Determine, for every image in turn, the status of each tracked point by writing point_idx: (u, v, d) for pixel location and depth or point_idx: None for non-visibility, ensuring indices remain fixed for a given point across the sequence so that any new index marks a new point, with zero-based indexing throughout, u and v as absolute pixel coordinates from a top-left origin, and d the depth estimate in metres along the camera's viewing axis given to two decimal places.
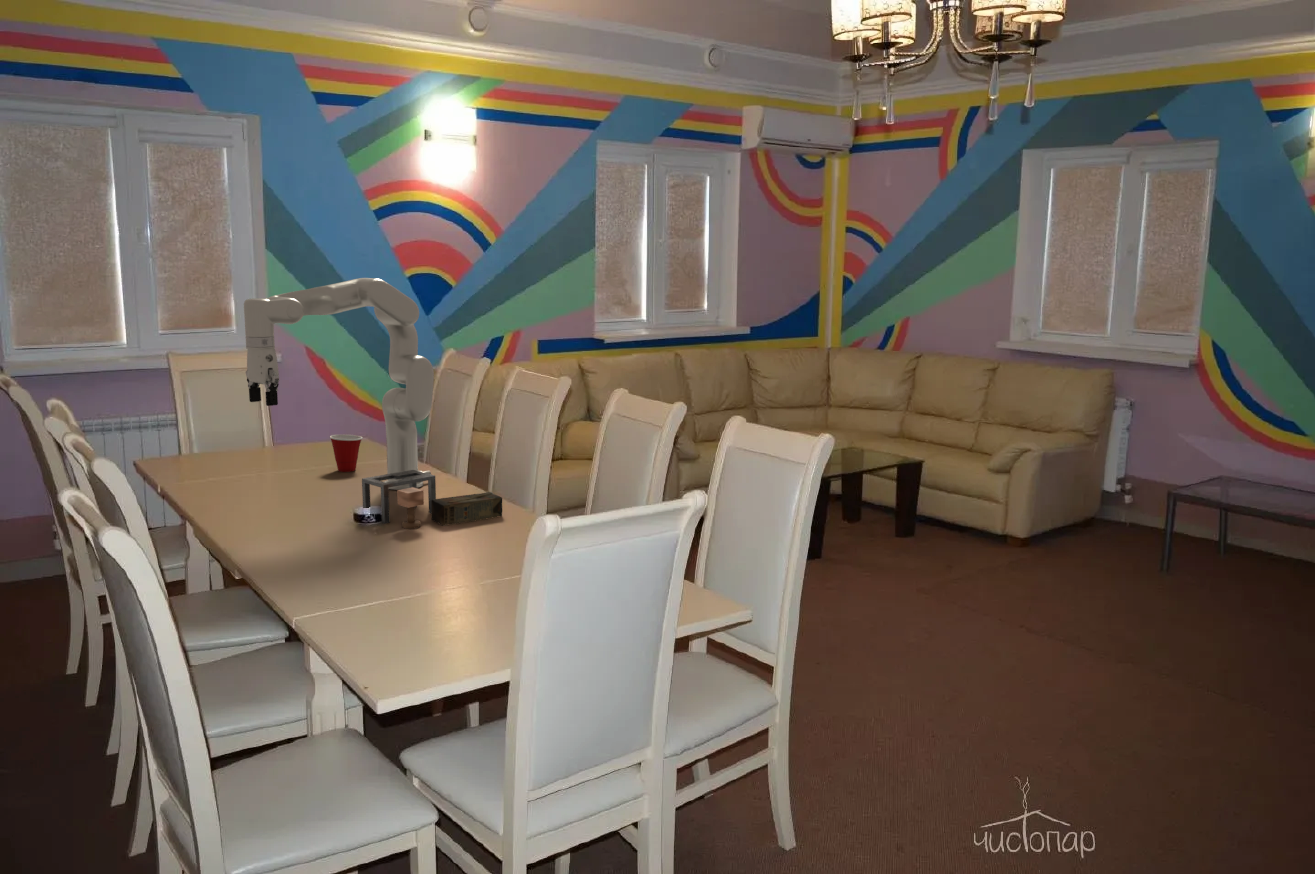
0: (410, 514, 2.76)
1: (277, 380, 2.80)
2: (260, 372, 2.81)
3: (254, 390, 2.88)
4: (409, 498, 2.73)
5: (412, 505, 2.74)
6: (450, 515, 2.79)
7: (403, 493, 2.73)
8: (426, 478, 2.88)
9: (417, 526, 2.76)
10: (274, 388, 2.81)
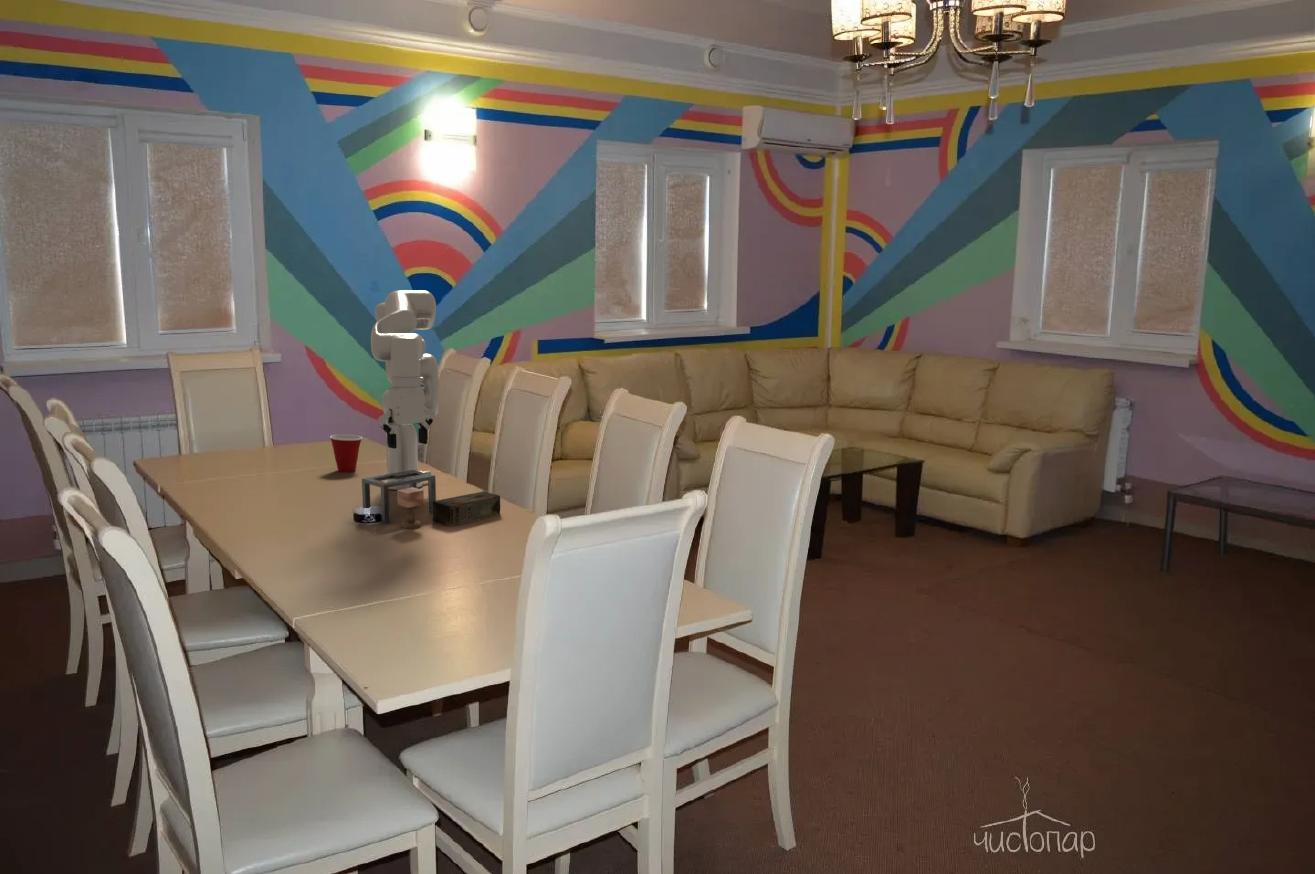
0: (410, 514, 2.76)
1: None
2: (422, 411, 2.73)
3: None
4: (409, 498, 2.73)
5: (412, 505, 2.74)
6: (455, 516, 2.78)
7: (403, 493, 2.73)
8: (426, 478, 2.88)
9: (417, 526, 2.76)
10: None
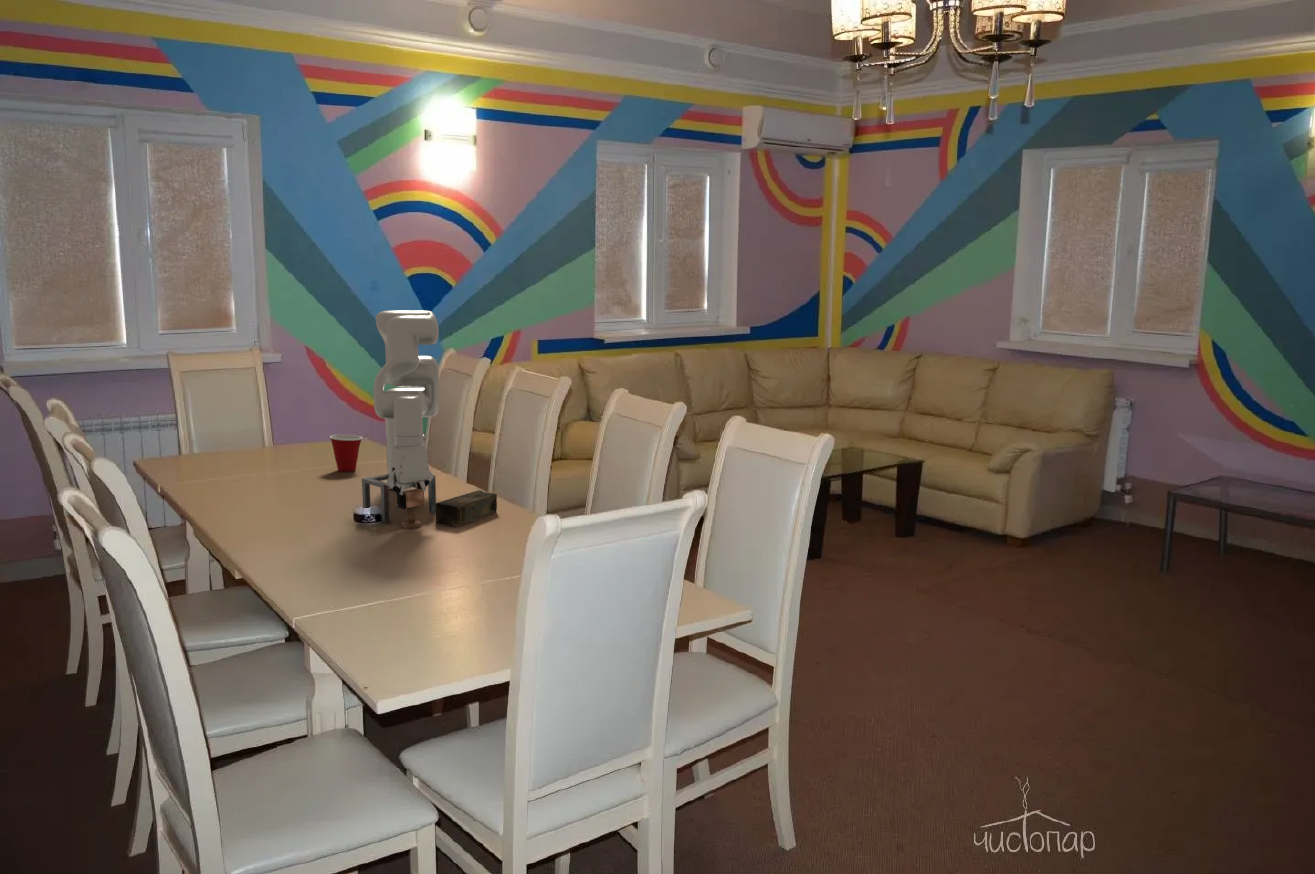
0: (410, 514, 2.76)
1: None
2: (425, 468, 2.75)
3: None
4: (409, 498, 2.72)
5: (412, 505, 2.73)
6: (462, 516, 2.78)
7: None
8: None
9: (417, 526, 2.76)
10: None
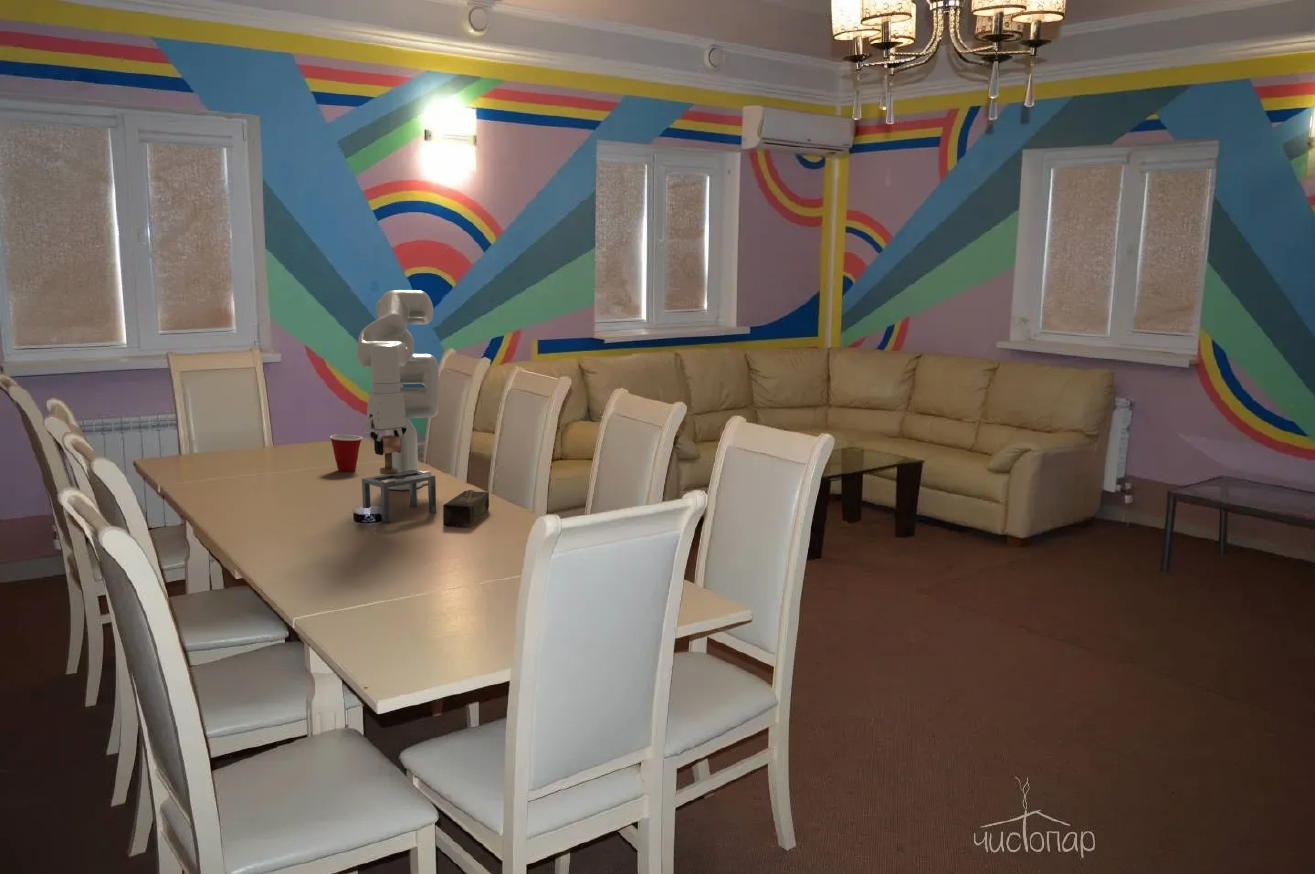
0: (388, 460, 2.83)
1: None
2: (402, 416, 2.83)
3: None
4: (386, 444, 2.80)
5: (389, 451, 2.81)
6: (472, 515, 2.79)
7: None
8: (426, 478, 2.88)
9: (394, 472, 2.83)
10: None
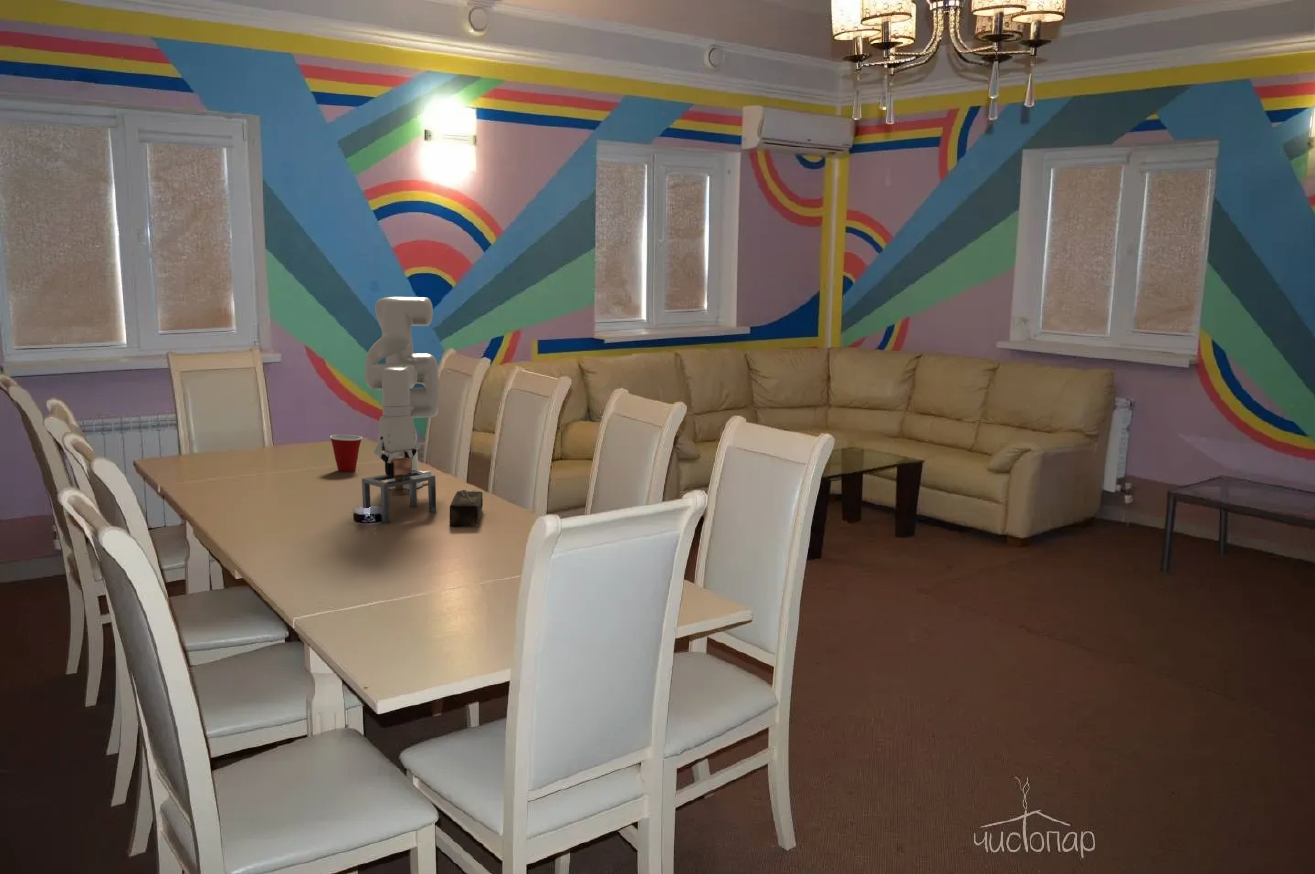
0: None
1: None
2: (412, 438, 2.87)
3: None
4: (397, 466, 2.84)
5: (400, 473, 2.85)
6: (478, 515, 2.80)
7: None
8: (426, 478, 2.88)
9: (405, 493, 2.87)
10: None
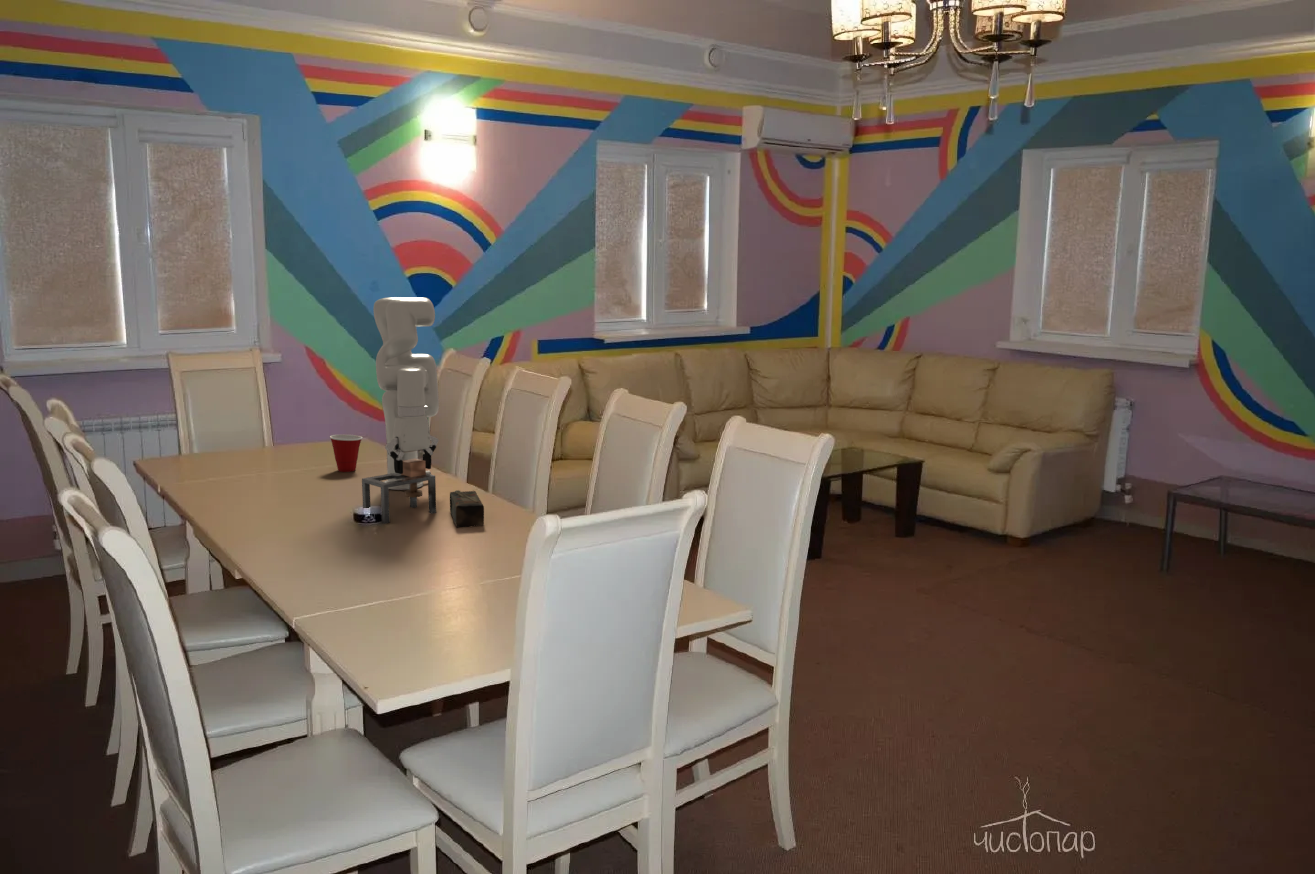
0: (413, 483, 2.90)
1: None
2: (427, 438, 2.90)
3: None
4: (412, 468, 2.87)
5: (415, 475, 2.88)
6: None
7: (406, 463, 2.88)
8: (426, 478, 2.88)
9: (419, 495, 2.91)
10: None
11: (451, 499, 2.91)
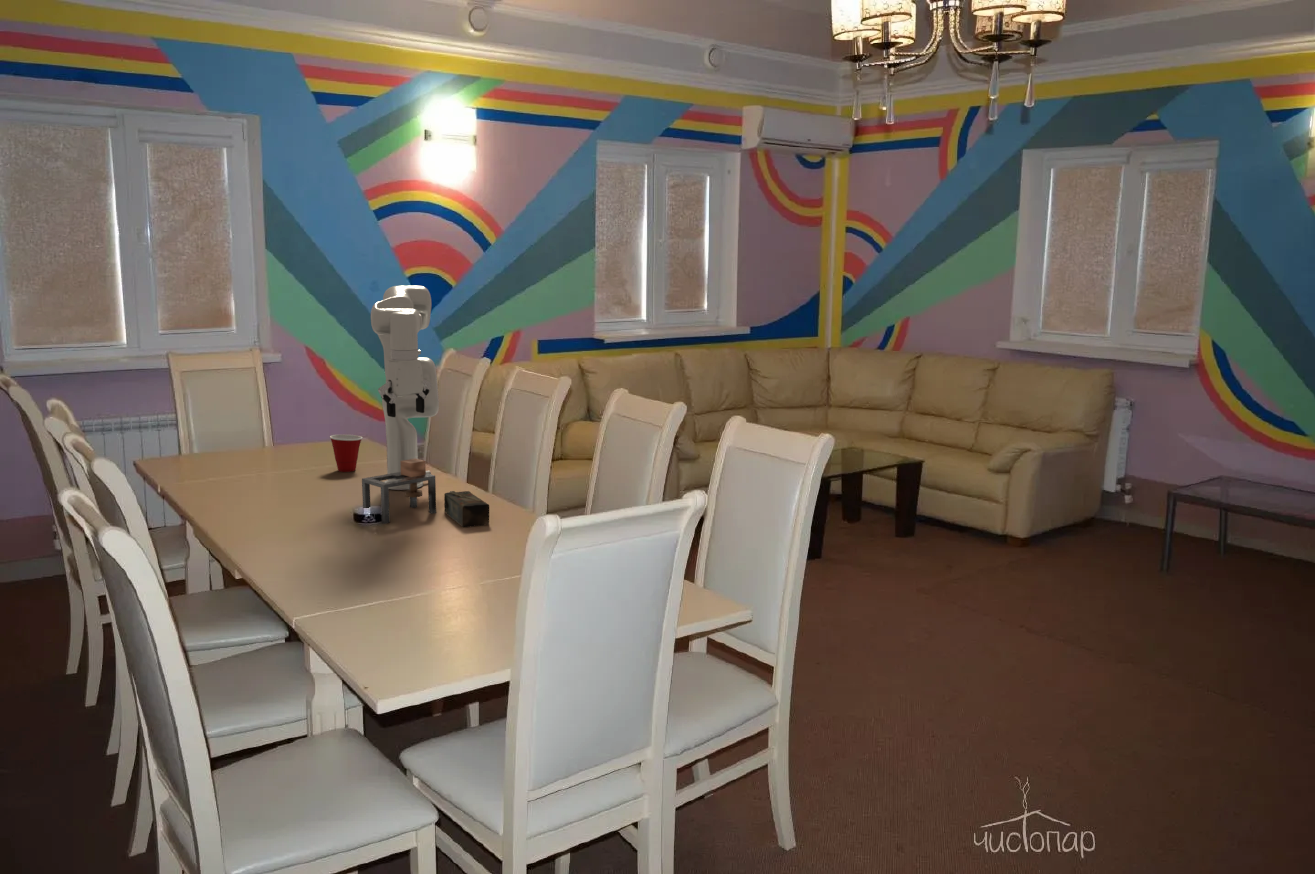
0: (413, 483, 2.90)
1: None
2: (420, 382, 2.91)
3: None
4: (412, 468, 2.87)
5: (415, 475, 2.88)
6: None
7: (406, 463, 2.88)
8: (426, 478, 2.88)
9: (419, 495, 2.91)
10: None
11: (447, 500, 2.90)
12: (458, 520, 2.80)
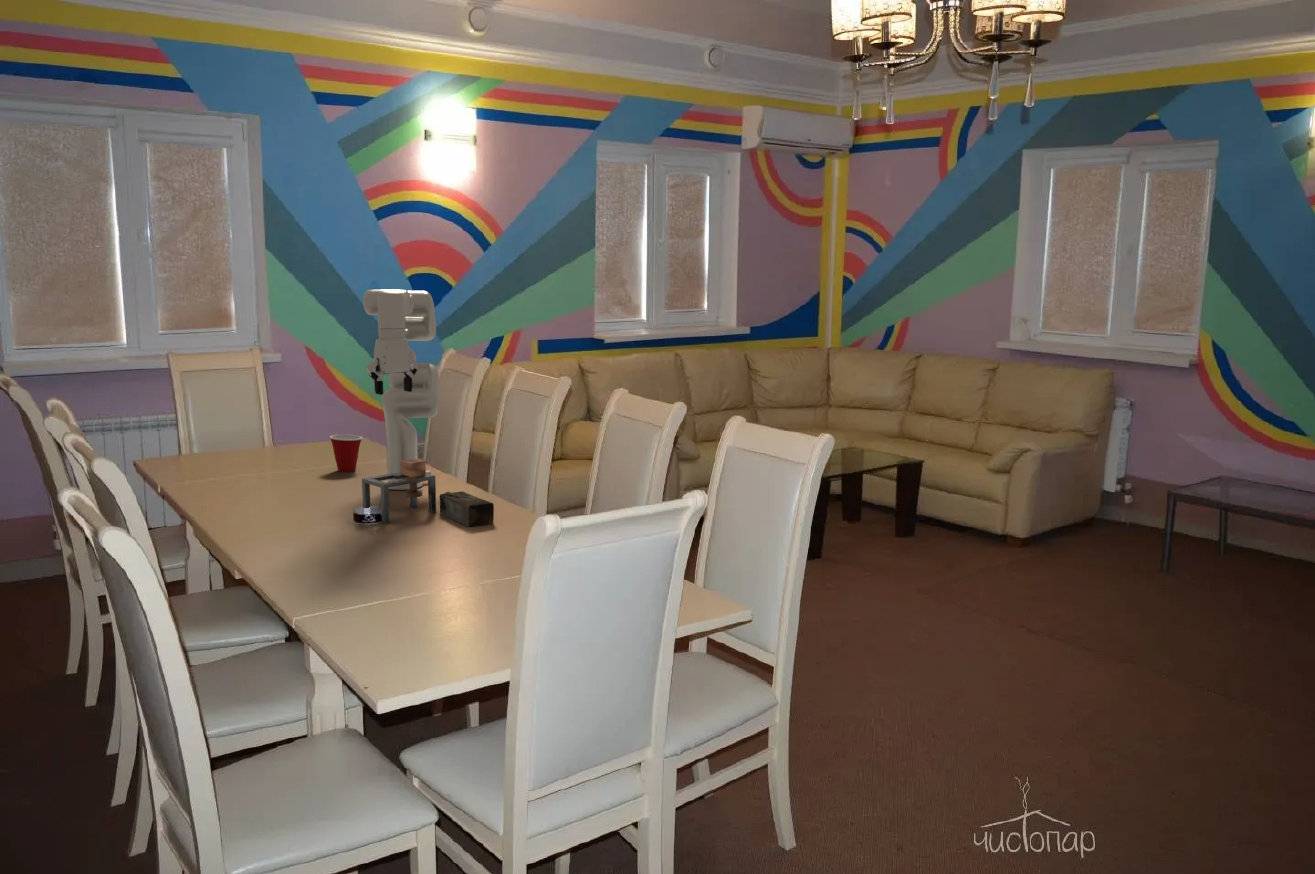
0: (413, 483, 2.90)
1: None
2: (407, 360, 2.96)
3: None
4: (412, 468, 2.87)
5: (415, 475, 2.88)
6: None
7: (406, 463, 2.88)
8: (426, 478, 2.88)
9: (419, 495, 2.91)
10: None
11: (445, 501, 2.88)
12: (462, 520, 2.80)
